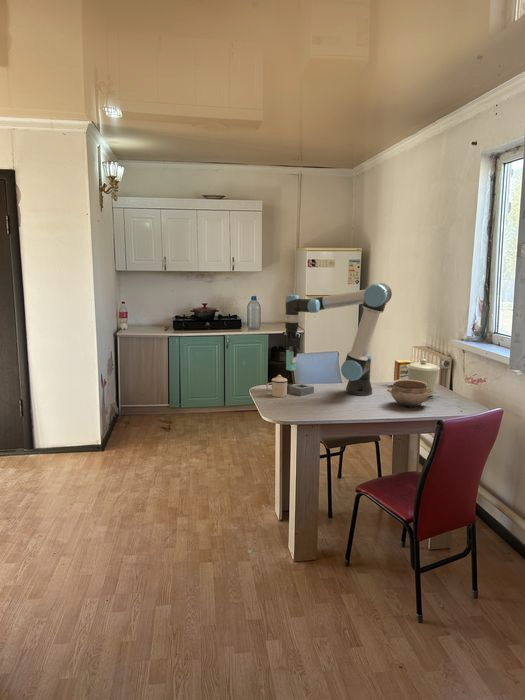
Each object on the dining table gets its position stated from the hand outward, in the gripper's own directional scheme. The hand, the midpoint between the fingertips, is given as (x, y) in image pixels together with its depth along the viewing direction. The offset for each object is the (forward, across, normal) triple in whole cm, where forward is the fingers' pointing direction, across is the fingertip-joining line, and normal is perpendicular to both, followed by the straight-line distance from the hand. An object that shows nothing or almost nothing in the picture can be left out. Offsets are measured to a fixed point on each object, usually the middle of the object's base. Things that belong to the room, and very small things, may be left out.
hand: (291, 361), depth 301 cm
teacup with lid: (+17, +5, -15) cm, 23 cm away
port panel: (+17, +9, 0) cm, 19 cm away
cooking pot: (+18, +62, +28) cm, 70 cm away
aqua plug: (+5, 0, 0) cm, 5 cm away
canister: (+18, +53, +53) cm, 77 cm away
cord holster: (+17, 0, 0) cm, 17 cm away
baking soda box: (+17, +34, +62) cm, 73 cm away
